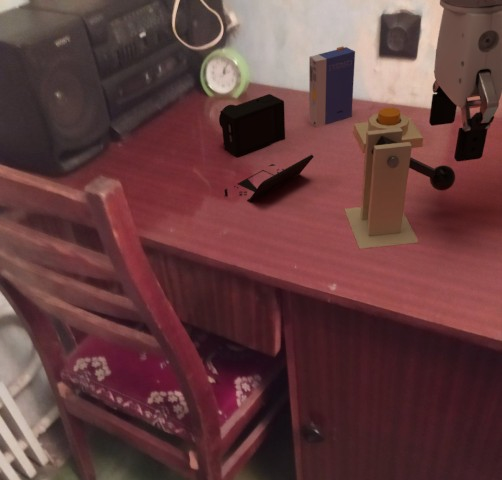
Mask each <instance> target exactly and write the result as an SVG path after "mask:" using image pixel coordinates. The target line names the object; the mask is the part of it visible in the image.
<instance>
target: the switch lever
mask: <svg viewBox="0 0 502 480" xmlns="http://www.w3.org/2000/svg"><path fill="white" fill-rule="evenodd" d="M394 143H396V142H394V141H392V140H390V139H388V138H386V137H384V136H381V137H380V139H379V140H378V142H377V143H376V145H385V144H394ZM376 145H375V146H376ZM371 152H372V154H373V153H374V148H373V150H372V151H371ZM409 169H410V170H413V171H415V172H417V173H419V174H421V175H423V176H426V177H427V178H429V183H430V185H431V187H432V188H433V189H435V190H437V191H446V190H449V189H450V188H451V187H452V186H454V184H455V181H456V172H455V171H454V169H453V168H452V167H451V166H449V165H446V164H445V165H438V166H436V167H435V168H434V167H432V166H430V165H428V164H425V163H424V162H422V161H420V160H418V159H415V158H413V157H412V156H410V164H409Z"/></svg>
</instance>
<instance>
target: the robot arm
mask: <svg viewBox="0 0 502 480" xmlns="http://www.w3.org/2000/svg"><path fill="white" fill-rule="evenodd" d="M439 5H440V7H442V8H443V9H442V14H441V19H440V25H439V31H438V36H437V43H436V49H435V57H434V68H433V69H434V70H433V76H434V82H433V83H432V92H433V93H432V95H431V97H432V98H431V104H430V105H431V106H430V112H429V120H428V123H429V125H430V126H433V127H434V126H441V125H449V124H453V123H454V122H455V120H456V114H457V109H458V108H460V113H461V123H462V127H459V128H458V132H457V138H456V143H455V150H454V156H453V158H454V161H456V162H466V161H472V160H480V159H481V158H482V157H483V156H484V155H483V154H484V149H485V145H486V140H487V135H488V130H489V129H490V128H491V124H492V123H493V121H494V119H495V114H496V112H497V110H498V109H499V105H500V100H501V97H502V0H439ZM476 97H479V99H472V100H471V99H470V98H476ZM468 99H470V100H468ZM477 108H479V111H478V112H475V113H474V114H473V115H472V117H471V109H477Z"/></svg>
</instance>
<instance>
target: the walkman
mask: <svg viewBox="0 0 502 480" xmlns="http://www.w3.org/2000/svg"><path fill="white" fill-rule="evenodd" d="M308 60H309V61H308V62H309V64H308V65H309V68H308V69H309V70H308V71H309V73H308V74H309V75H308V76H309V79H308V81H309V88H308V89H309V90H308V91H309V92H308V95H309V96H308V97H309V99H308V100H309V101H308V102H309V103H308V104H309V105H308V109H309V111H308V112H309V113H308V115H309V116H308V118H309V119H308V121H309V124H311V126H313V127H314V128H319V127H322V126H325V125H330V124H333V123H336V122H339V121H343V120H346V119H349V118H352V116H353V97H354V82H355V81H354V80H355V61H356V51H355V50H353V49H351V48H349V47H347V46H346V47H345V46H344V45H343V46H339V47H338V46H337V47H336V49H333V50H329V51H325V52H322V53H318V54H315V55H312V56H309V59H308Z"/></svg>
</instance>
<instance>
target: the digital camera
mask: <svg viewBox="0 0 502 480" xmlns="http://www.w3.org/2000/svg"><path fill="white" fill-rule="evenodd" d="M219 112H220V114H219V116H218V117H219V118H218V123H219V126H220V128H221V131H222V139H223V148H224V150H225V151H227V152H228V153H229V154H231V155H233V156H234V157H236V158H239V157H243V156H244V155H247V154H250V153H252V152H255V151H257V150H260V149H263V148H266V147H267V146H271V145H273V144H276V143H278V142H281V141H284V140H285V139H286V126H285V125H286V124H285V123H286V122H285V119H286V118H285V117H286V116H285V101H284V100H283V99H281V98H279V97H277V96H275V95H273V94H272V93H267V94H265V95H262V96H259V97H256V98H253V99H251V100H248V101H244V102H242V103H238V104H236V105H235V104H227V105H226V106H225V107H223V108H222V110H220V111H219Z"/></svg>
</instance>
